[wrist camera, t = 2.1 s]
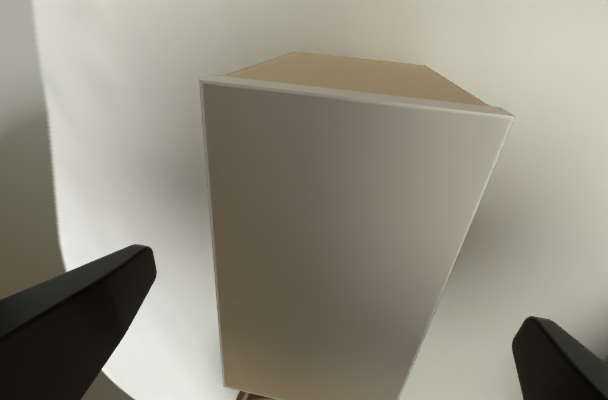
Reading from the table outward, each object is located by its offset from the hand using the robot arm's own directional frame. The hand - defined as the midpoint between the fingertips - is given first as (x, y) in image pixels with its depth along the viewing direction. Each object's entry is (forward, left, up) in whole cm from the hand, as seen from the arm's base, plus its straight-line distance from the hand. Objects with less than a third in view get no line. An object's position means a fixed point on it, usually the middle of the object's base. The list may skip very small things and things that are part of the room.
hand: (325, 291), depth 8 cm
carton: (0, 0, -8) cm, 8 cm away
